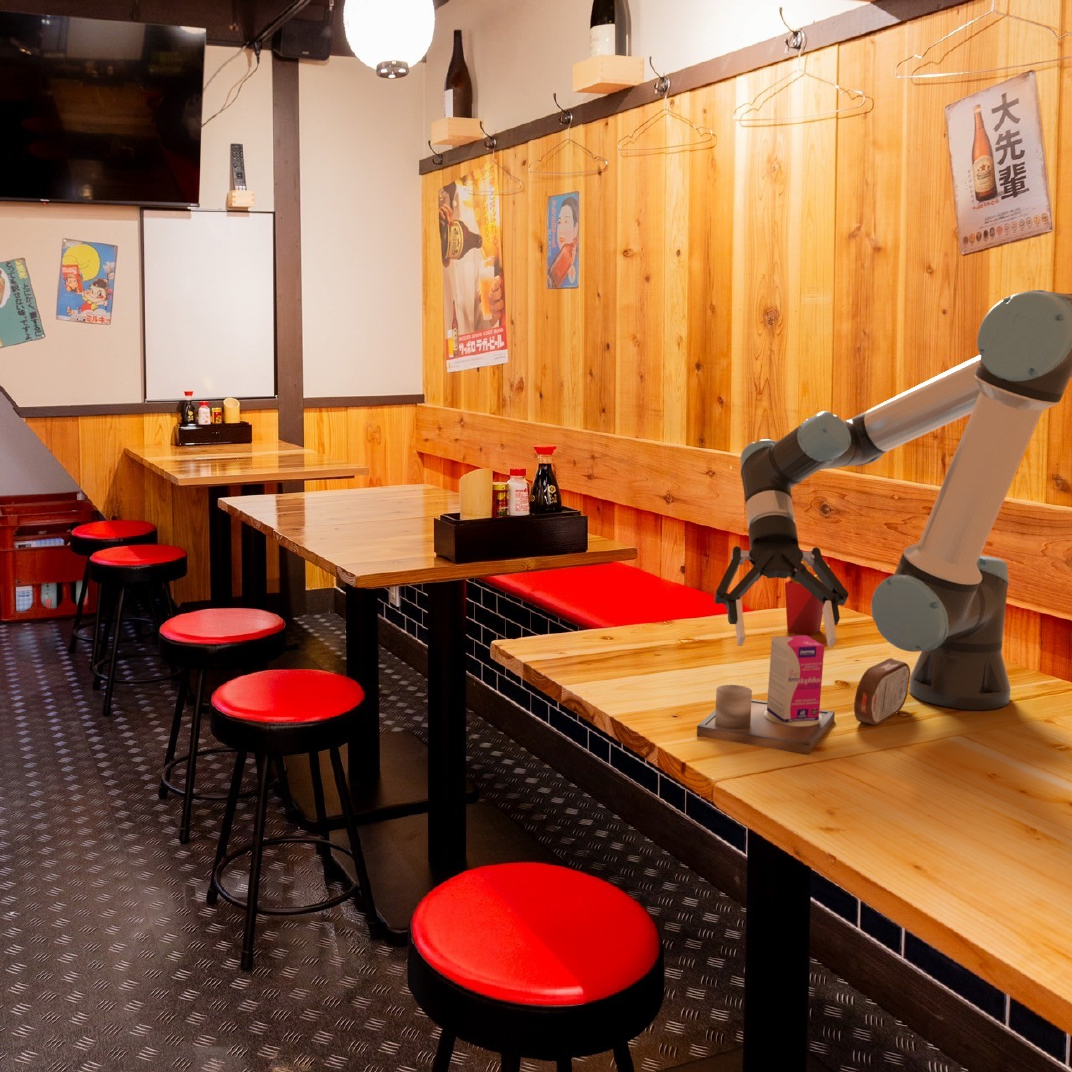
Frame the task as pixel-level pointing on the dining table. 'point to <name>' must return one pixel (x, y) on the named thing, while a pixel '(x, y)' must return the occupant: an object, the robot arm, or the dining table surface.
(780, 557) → the robot arm
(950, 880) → the dining table surface
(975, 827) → the dining table surface
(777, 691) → the supplement box
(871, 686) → the tin
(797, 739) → the board
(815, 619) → the french fries
